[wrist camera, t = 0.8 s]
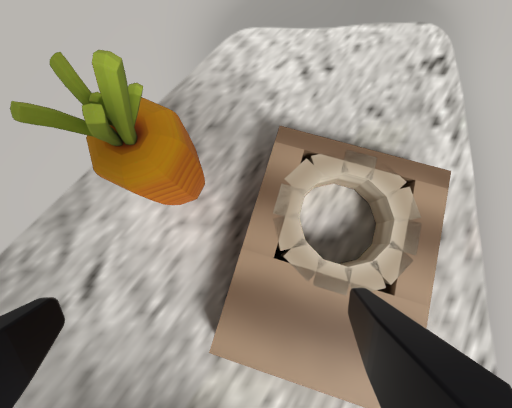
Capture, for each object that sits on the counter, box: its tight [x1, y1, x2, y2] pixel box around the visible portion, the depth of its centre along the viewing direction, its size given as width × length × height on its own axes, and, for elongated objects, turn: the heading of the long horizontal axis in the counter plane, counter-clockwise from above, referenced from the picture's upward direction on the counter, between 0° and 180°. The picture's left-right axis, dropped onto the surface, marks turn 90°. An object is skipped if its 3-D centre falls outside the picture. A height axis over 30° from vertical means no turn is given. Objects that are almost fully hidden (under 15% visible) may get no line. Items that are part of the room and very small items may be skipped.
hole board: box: [209, 126, 451, 408], centre depth 19 cm, size 18×14×3 cm
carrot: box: [10, 50, 205, 205], centre depth 15 cm, size 5×5×15 cm
